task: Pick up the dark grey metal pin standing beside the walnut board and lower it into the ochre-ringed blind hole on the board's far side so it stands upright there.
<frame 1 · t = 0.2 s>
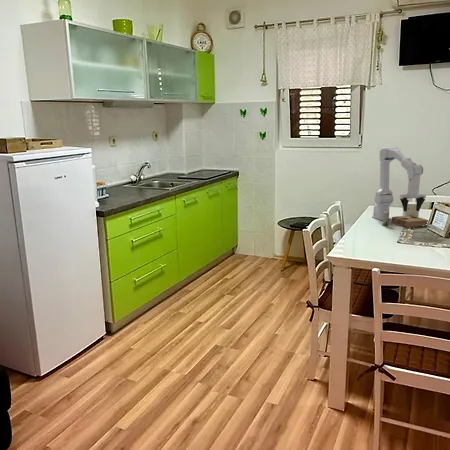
hand: (411, 211, 244), 10 cm above the table, tool pointing down, fingers open, 7 cm apart
board: (409, 224, 255), on the table
pin: (385, 225, 253), on the table
small box: (410, 219, 267), on the table
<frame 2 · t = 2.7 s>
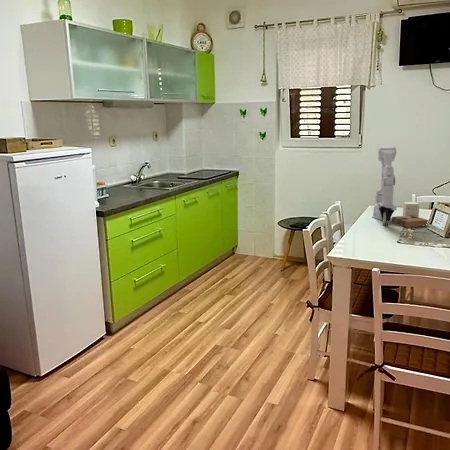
hand: (385, 220, 252), 3 cm above the table, tool pointing down, fingers closed on pin, 3 cm apart
pin: (385, 225, 253), on the table, touching gripper
everything else where it was.
when the fingers open (5 cm above the table, at t = 7.6 s): pin stays where it is, resting on board.
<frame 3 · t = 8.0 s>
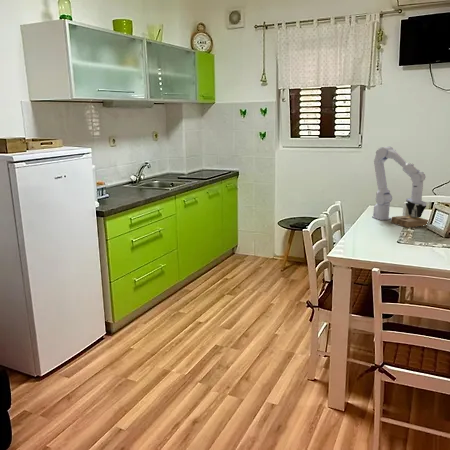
hand: (414, 215, 255), 5 cm above the table, tool pointing down, fingers open, 6 cm apart
pin: (413, 222, 256), point 1 cm above the table, touching board
everything else where it was.
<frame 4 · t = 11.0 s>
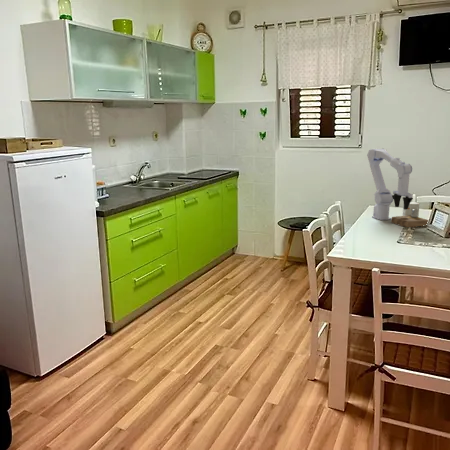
hand: (401, 208, 255), 9 cm above the table, tool pointing down, fingers open, 7 cm apart
nothing on the table moved.
at the end: pin 0.4 cm from the target spot on the board, point 0.5 cm above the board's base; pin tilted 0°; the gripper is holding nothing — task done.
